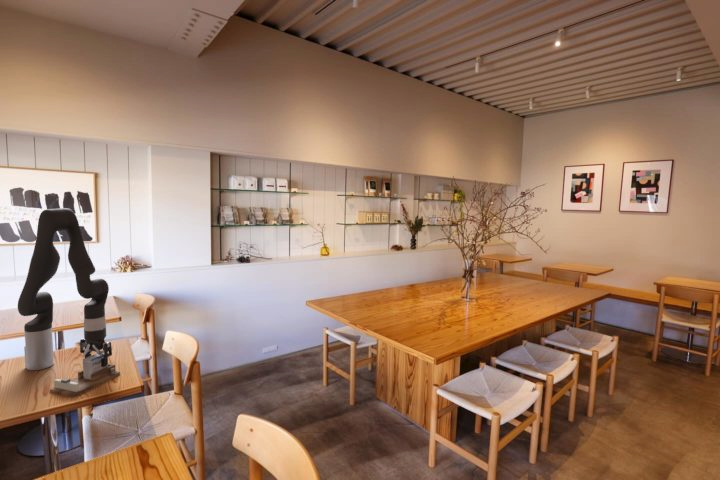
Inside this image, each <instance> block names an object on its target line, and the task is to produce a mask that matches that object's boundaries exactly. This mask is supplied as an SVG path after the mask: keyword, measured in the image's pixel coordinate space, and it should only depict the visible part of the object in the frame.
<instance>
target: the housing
mask: <svg viewBox="0 0 720 480" xmlns="http://www.w3.org/2000/svg"><path fill="white" fill-rule="evenodd" d="M119 375H121V372H120V371H116V364H113V363H108V367H107V368H105V369H103V370H100V371H98V372H96V373H94V374H92V375H91V380H90V379H84V376H83V369H82V370H80V371H78V372H77V376H76V377H75V378H72V379H70V381H71V382H76V383H79V391H77V392H74V391H69V390H64V389H60V388H55V386H54V387H52V388H50V389H49V392H50V393H51V394H57V395H61V396H65V397H71V398H75V397H78V396H79V395H81V394H83V393H85V392H87V391H89V390H91V389H94V388H96V387H98V386H99V385H102V384H104V383H106V382H109V381H110V380H112V379H113V378H116V377H118V376H119Z"/></svg>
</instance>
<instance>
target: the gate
mask: <svg viewBox="0 0 720 480" xmlns="http://www.w3.org/2000/svg"><path fill="white" fill-rule="evenodd" d="M70 380H71V378H68V377H65V378H63V379H61V378H55V379H54V380H53V382H54V383H53V384H54V385H53V386H54V387H55V388H60V389H64V390H69V391H74V392H77V391H79V383H76V382H71V381H70Z"/></svg>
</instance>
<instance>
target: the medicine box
mask: <svg viewBox="0 0 720 480" xmlns="http://www.w3.org/2000/svg"><path fill="white" fill-rule="evenodd" d="M103 355H104V353H103ZM108 364H109V363H108ZM108 364H107V366H104V367H101V356H100V355H99V354H97V353H95V354H93V355H92V354H91V356H89V357H87V358H85V357H84V358H83V359H82V370H83V376H84V379H90V380H91V375H92V374H94V373H96V372H98V371H100V370H103V369H105V368H107V367H108Z"/></svg>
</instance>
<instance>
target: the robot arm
mask: <svg viewBox="0 0 720 480" xmlns="http://www.w3.org/2000/svg"><path fill="white" fill-rule="evenodd" d="M37 221H38V222H37V231H36V239H35V243H34V249H33V252H32V255H31V258H30V263H29V267H28V272H27V276H26V279H25V282H24V285H23V288H22V289H21V292H20V296H19V298H18V301H17V311H18V313H19V314H20V316H23V317H31V316H35V315H36V316H35V317H34V318H33V319H31V320H29V321H28V322H26V323H25V324H24V327H23V328H24V329H23V330H24V342H25V346H24V362H25V363H24V364H25V367H24V368H26V370H27V371H38V370H39V371H40V370H44V369H47V368H50V367H51V366H53V365H54V364H55V361H54V341H53V340H54V339H53V321H54V300H53V297H52V294H50V292H48V291H41V292H39V291H40V290H41V289H42V287H43V286H44V285H46V284H47V283H48V282H49V281H50V280H51V279H52V278H53V277H54V276H55V274H56V273H57V271H58V268H59V266H60V261H61V256H60V253H59V251H58V249H57V248H56V246H55V244H54V236H55V234H56V233H57V232H63V231H65V232H66V234H67V236H68V239H69V246H68V253H67V258H68V259H67V260H68V263H69V265H70V267H71V269H72V272H73V274H74V275H75V283H76V290H77V293H78V295H80V297H81V298H83V299H87V300H88V299H89V302H87V303H86V304H85V305H84V307H83V338H82V339H80V340H79V353H80V354H83V356H84V358H87V357H89V356H92V352H95V353H96V354H99V355H100V356H101V367H104V366H107V364H109V357H111V356H113V352H112V351H113V349H112V342H111V341H107V342H106V340H105V338H107V321H106V320H107V319H106V308H105V306H106V304H107V303H106V302H107V298H108V294H109V291H110V290H109V289H110V288H109V283H108V282H107V281H106V280H105V279H103V278H95V279H91V275H93V274H94V273H95V272H96V267H95V265H94V263H93V261H92V259H91V257H90V255H89V253H88V250H87V248H86V244H85V242H84V238H83V234H82V230H81V226H80V224H79V220H78V218H77V215H76V213H75V212H74V211H73V210H72V209H71V208H69V207H68V208H66V207H61V208H48V209H44V210H42V211H41V213H40V214H39V217H38V220H37ZM90 299H91V300H90ZM103 353H104V355H103Z"/></svg>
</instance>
